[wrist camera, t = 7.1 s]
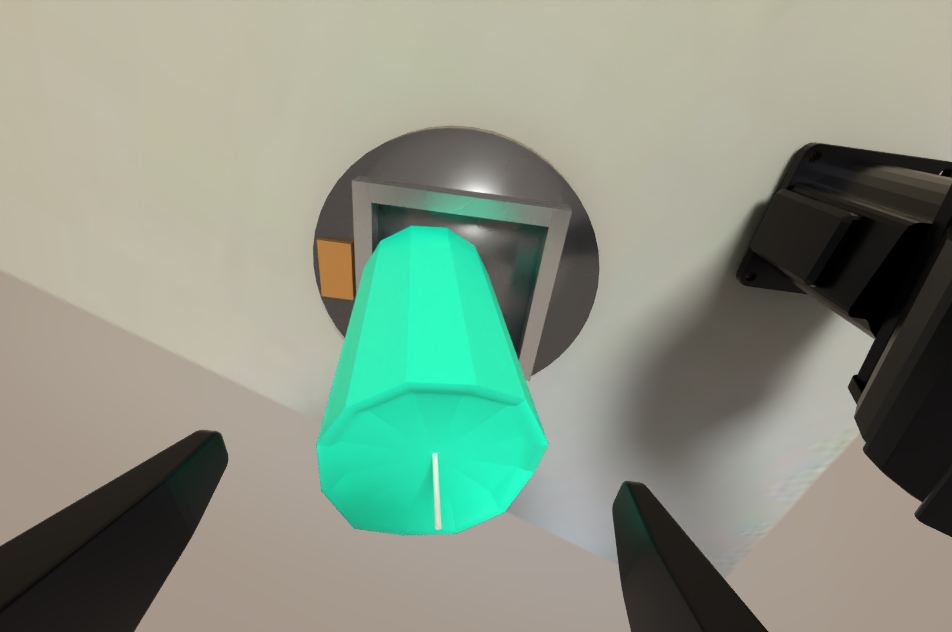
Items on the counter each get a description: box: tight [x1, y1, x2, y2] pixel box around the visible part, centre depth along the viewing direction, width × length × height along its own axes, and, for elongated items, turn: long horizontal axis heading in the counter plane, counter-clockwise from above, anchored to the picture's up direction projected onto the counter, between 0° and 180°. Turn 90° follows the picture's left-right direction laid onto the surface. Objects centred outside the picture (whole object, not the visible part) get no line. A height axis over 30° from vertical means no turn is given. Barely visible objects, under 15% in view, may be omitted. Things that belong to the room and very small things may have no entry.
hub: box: [313, 126, 599, 381], centre depth 20 cm, size 14×14×2 cm
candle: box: [316, 226, 548, 535], centre depth 14 cm, size 6×6×12 cm
